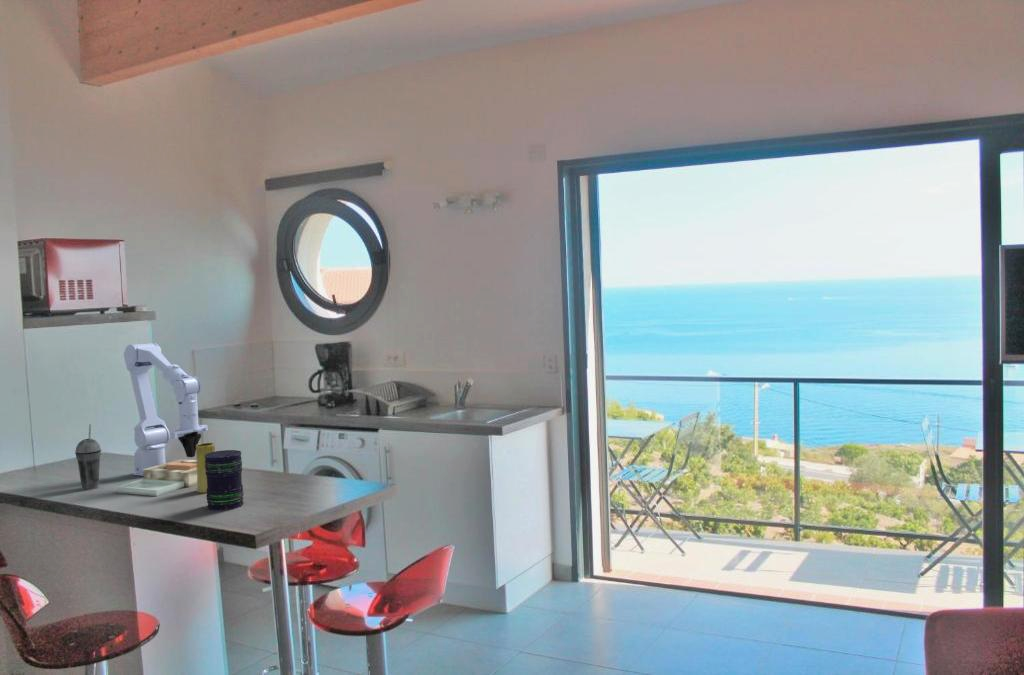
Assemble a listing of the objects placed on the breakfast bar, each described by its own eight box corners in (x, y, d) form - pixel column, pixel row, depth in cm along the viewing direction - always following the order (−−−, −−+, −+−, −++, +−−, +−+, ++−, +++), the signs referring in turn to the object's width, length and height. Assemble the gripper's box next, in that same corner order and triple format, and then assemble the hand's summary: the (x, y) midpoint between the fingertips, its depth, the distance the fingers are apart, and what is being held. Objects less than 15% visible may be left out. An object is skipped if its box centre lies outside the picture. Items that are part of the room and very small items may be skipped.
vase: (210, 493, 239) (208, 446, 238) (192, 492, 240) (190, 446, 239) (222, 488, 244) (219, 442, 244) (204, 487, 246) (201, 442, 245)
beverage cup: (72, 489, 248) (68, 426, 247) (93, 484, 255) (90, 422, 254) (86, 491, 245) (83, 427, 244) (108, 486, 251) (104, 423, 250)
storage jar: (201, 506, 224) (198, 454, 223) (234, 499, 231) (231, 448, 230) (216, 513, 217) (213, 458, 216) (250, 505, 223) (247, 452, 223)
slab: (166, 473, 258) (165, 464, 258) (174, 471, 262) (173, 462, 261) (190, 475, 255) (190, 466, 255) (198, 472, 258) (197, 463, 258)
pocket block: (143, 483, 254) (142, 469, 254) (180, 472, 269) (180, 459, 268) (189, 487, 247) (188, 472, 247) (224, 475, 262) (224, 461, 262)
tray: (116, 492, 243) (116, 486, 243) (144, 484, 253) (144, 478, 253) (156, 496, 237) (156, 490, 237) (184, 487, 247) (183, 481, 247)
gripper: (181, 418, 247) (183, 462, 248) (214, 411, 261) (216, 452, 262) (163, 418, 250) (166, 460, 251) (197, 411, 263) (199, 451, 264)
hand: (190, 456), depth 256 cm, fingers closed
